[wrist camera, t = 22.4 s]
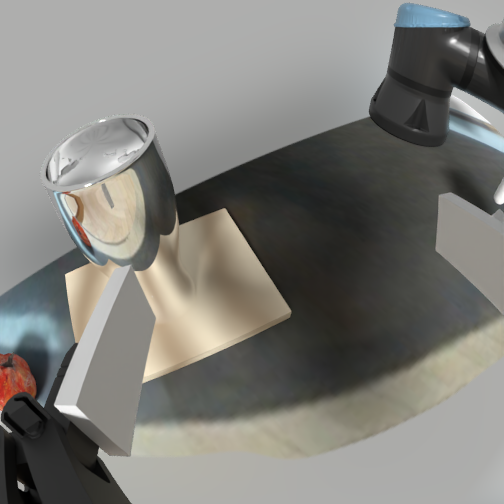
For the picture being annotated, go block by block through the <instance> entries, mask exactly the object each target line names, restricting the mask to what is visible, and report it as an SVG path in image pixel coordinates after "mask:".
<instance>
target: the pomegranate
mask: <svg viewBox="0 0 504 504" xmlns="http://www.w3.org/2000/svg"><path fill="white" fill-rule="evenodd" d="M19 392H27V393H29V394H31V395H32V396H33V397H34V399H35V395H36V382H35V379H34V377H33V375H32V374H31V372H30V368H29V366H28V364H27V362H26V361H25V360H24V359H23V358H21V357H19V356H18V355H16V354H14V352H13V353H12V354H10V353H9V354H5V355H3V354H0V410H1V411H2V410H3V407H4V406H5V404H6V403H7V401H8V400H9V399H10V398H11V397H12V396H13V395H15V394H17V393H19Z"/></svg>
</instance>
